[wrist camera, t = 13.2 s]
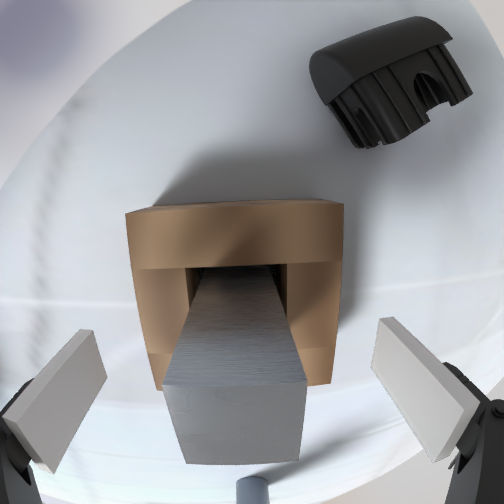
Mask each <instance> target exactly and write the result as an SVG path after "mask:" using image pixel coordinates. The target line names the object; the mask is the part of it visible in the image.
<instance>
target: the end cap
mask: <svg viewBox="0 0 504 504" xmlns="http://www.w3.org/2000/svg"><path fill="white" fill-rule="evenodd" d="M452 39H453V38H452V37H451V36H450V34H449V33H448V32H447V31H446V30H445V29H444V28H443V27H442V26H440V25H439V24H437V23H436V22H434V21H432V20H430V19H428V18H425V17H419V16H414V17H410V18H407V19H403V20H400V21H396V22H393V23H390V24H386V25H383V26H380V27H377V28H374V29H371V30H368V31H366V32H363V33H360V34H357V35H355V36H352V37H349V38H347V39H344V40H342V41H339V42H337V43H334V44H332V45H330V46H327V47H325V48H323V49H321V50H318V51H316V52H315V53H314V54H313V55H312V56H311V59H310V64H309V68H310V74H311V78H312V81H313V84H314V86H315V88H316V90H317V93H318V94H319V96H320V98H321V100H322V101H323V103H324V104H325V106H326V105H328V107H329V108H330V110H331V111H332V113H333V114H334V116H335V117H336V119H337V120H338V122H339V123H340V125H341V126H342V128H343V129H344V131H345V132H346V134H347V135H348V137H349V139H350V140H351V142H352V143H353V145H354V146H355V147H356V148H359V149H360V148H364V147H366V149H369V148H373V147H376V146H377V145H379V144H378V141H380V140H381V142H382V143H383V145H386V144H391V143H395V142H397V141H399V140H401V139H403V138H405V137H406V136H408V135H409V134H411V133H413V132H414V131H416V130H417V129H419V128H420V127H422V126H423V125H425V124H427V123H428V122H430V119H429V117H428V115H427V114H426V112H427V111H428V110H430V109H432V108H433V107H435V106H437V105H439V104H441V103H444V102H447V101H449V103H450V105H451V106H454V105H456V104H458V103H459V102H461V101H463V100H464V99H466V98H467V97H469V96H471V95H472V94H473V92H472V90H471V89H470V87H469V85H468V83H467V81H466V79H465V78H464V76H463V74H462V72H461V71H460V69H459V67H458V66H457V64H456V62H455V61H454V59H453V58H452V56H451V55H450V53H449V51H448V50H447V48H446V47H445V45H444V44H445V43H447V42H449V41H450V40H452Z"/></svg>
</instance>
